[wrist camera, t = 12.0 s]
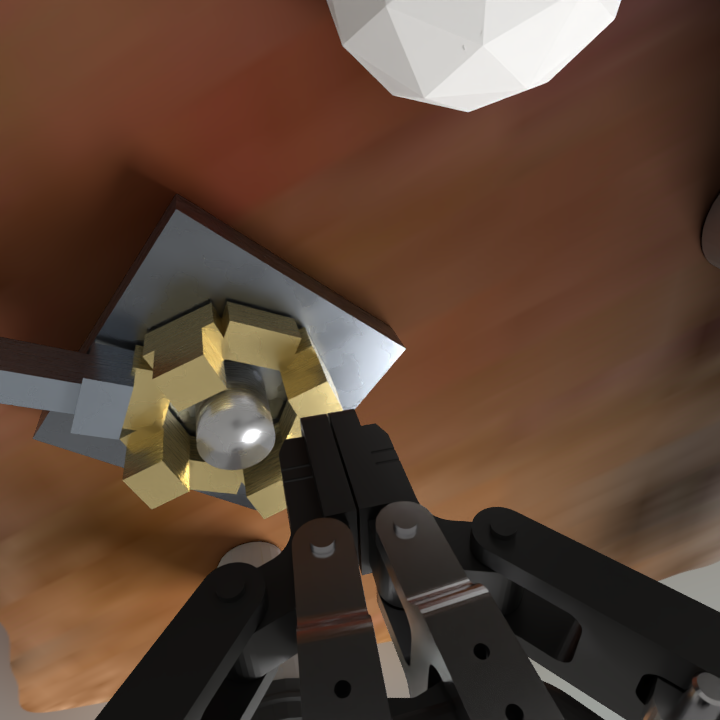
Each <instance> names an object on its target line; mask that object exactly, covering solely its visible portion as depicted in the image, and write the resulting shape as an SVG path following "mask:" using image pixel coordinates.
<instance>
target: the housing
mask: <svg viewBox="0 0 720 720" xmlns="http://www.w3.org/2000/svg"><path fill="white" fill-rule="evenodd" d="M226 302H231V303H235V304H239V305H243V306H247V307H250V308H254V309H258V310H262V311H266V312H270V313H273V314H277V315H281V316H285V317H289V318H293V319H295V322H296V325H297V327H298V330H299V329H301V328H303V327H305V328H306V330H307V332H308V334H309V336H310V338H311V340H312V342H313V343H314V345H315V347H316V349H317V351H318V353H319V355H320V357H321V359H322V361H323V363H324V365H325V366H326V368H327V370H328V372H329V374H330V376H331V379H332V381H333V384H334V386H335V388H336V391H337V393H338V398H339V400H340V403H341V405H342V408H343V410H349V409H355V408H356V407H357V406H358V405H359V403H360V402H361V401H362V400H363V399H364V398H365V396H366V395H367V394H368V393H369V392H370V390H371V389H372V388H373V387H374V386H375V385H376V383H377V382H378V381H379V380H380V379H381V377H382V376H383V375H384V374H385V373H386V372H387V370H388V369H389V368H390V367H391V366H392V364H393V363H394V362H395V361H396V360H397V359H398V357H399V356H400V355H401V354H402V353H403V351H404V350H405V347H404V346H403V344H402V343H401V341H400V340H399V338H398V337H397V335H396V334H395V332H394V331H393V329H392V328H391V327H389V326H388V325H386V324H385V323H383V322H381V321H380V320H378V319H377V318H375V317H373V316H372V315H370V314H369V313H367V312H365V311H364V310H362V309H361V308H359V307H357V306H356V305H354V304H353V303H351V302H349V301H348V300H346V299H345V298H343V297H342V296H340V295H338V294H337V293H335V292H334V291H332V290H330V289H329V288H327V287H326V286H324V285H322V284H321V283H319V282H318V281H316V280H314V279H313V278H311V277H310V276H308V275H306V274H305V273H303V272H302V271H300V270H298V269H297V268H295V267H294V266H292V265H290V264H289V263H287V262H286V261H284V260H282V259H281V258H279V257H278V256H276V255H274V254H273V253H271V252H270V251H268V250H266V249H265V248H263V247H262V246H260V245H258V244H257V243H255V242H254V241H252V240H250V239H249V238H247V237H246V236H244V235H242V234H241V233H239V232H238V231H236V230H234V229H233V228H231V227H230V226H228V225H226V224H225V223H223V222H222V221H220V220H218V219H217V218H215V217H214V216H212V215H211V214H209V213H207V212H206V211H204V210H203V209H201V208H199V207H198V206H196V205H195V204H193V203H191V202H190V201H188V200H187V199H185V198H183V197H182V196H180V195H179V194H177V193H176V195H175V197H174V198H173V200H172V201H171V203H170V205H169V206H168V208H167V209H166V211H165V213H164V214H163V216H162V218H161V219H160V221H159V222H158V224H157V226H156V227H155V229H154V230H153V232H152V234H151V235H150V237H149V239H148V240H147V242H146V243H145V245H144V247H143V248H142V250H141V251H140V253H139V255H138V256H137V258H136V260H135V261H134V263H133V264H132V266H131V268H130V269H129V271H128V272H127V274H126V276H125V277H124V279H123V281H122V282H121V284H120V285H119V287H118V289H117V290H116V292H115V293H114V295H113V297H112V298H111V300H110V302H109V303H108V305H107V306H106V308H105V310H104V311H103V313H102V314H101V316H100V318H99V319H98V321H97V323H96V324H95V326H94V327H93V329H92V331H91V332H90V334H89V335H88V337H87V339H86V340H85V342H84V344H83V345H82V347H81V348H80V350H79V352H80V353H85V354H90V350H91V346H92V343H98V344H103V345H107V346H112V347H117V348H122V349H127V350H132V351H134V350H135V346H136V345H139V346H143V347H144V339H145V334H147V333H149V332H151V331H153V330H155V329H157V328H159V327H162V326H164V325H166V324H168V323H170V322H172V321H174V320H176V319H178V318H180V317H182V316H185V315H187V314H189V313H191V312H193V311H195V310H197V309H199V308H201V307H203V306H206V305H208V304H210V303H212V304H213V306H214V308H215V309H216V311H217V312H218V314H219V315H220V317H222V314H223V311H224V308H225V305H226ZM224 368H225V376H226V384H227V389H225V390H223V391H221V392H219V393H217V394H215V395H213V396H211V397H209V398H207V399H205V400H203V401H201V402H198V403H196V404H194V405H192V406H190V407H188V408H186V409H184V410H182V411H180V412H178V411H177V410H176V408H175V407H174V406H173V405H172V404H171V402H170V404H169V407H168V409H169V411H170V412H171V413H172V414H173V416H174V417H175V418H176V419H177V421H178V422H179V423H180V424H181V425H182V427H183V428H184V429H185V430H186V432H187V433H188V434H189V435H190V436H196V443H197V450H198V452H199V455H200V456H201V457H202V459H203V460H204V461H205V462H207V463H208V464H210V465H211V466H214V467H216V468H219V469H224V470H239V469H244V468H248V467H251V466H253V465H255V464H257V463H259V462H260V461H262V460H263V459H264V458H265V457H266V456H267V455H268V454H269V453H270V451H271V450H272V448H273V446H274V443H275V430H274V426H273V425H274V424H276V423H278V422H279V419H280V417H281V415H282V412H283V410H284V408H285V405H286V403H287V401H288V398H287V395H286V391H285V387H284V384H283V380H282V376H281V373H280V371H279V370H274V369H270V368H265V367H260V366H256V365H251V364H246V363H242V362H237V361H232V360H228V359H226V360H224ZM74 415H75V414H68V413H62V412H55V411H48V410H42V413H41V416H40V419H39V422H38V425H37V427H36V430H35V433H34V436H33V439H35V440H38V441H41V442H45V443H48V444H51V445H54V446H57V447H60V448H63V449H66V450H70V451H73V452H76V453H79V454H82V455H85V456H88V457H91V458H95V459H98V460H101V461H104V462H107V463H110V464H113V465H117V466H120V467H123V468H124V464H125V456H126V448H127V447H126V446H125V444H124V443H123V442H122V441H121V440H120V439H119V440H117V439H110V438H102V437H95V436H88V435H80V434H73V433H71V428H72V424H73V420H74ZM195 491H198V492H201V493H204V494H207V495H210V496H214V497H217V498H220V499H223V500H226V501H229V502H232V503H235V504H239V505H242V506H245V507H248V508H251V509H254V510H257V509H256V508H255V507H254V506H253V504H252V503H251V502H250V501H249V499H248V498H247V497H246V489H245V485H244V484H243V483H242V482H241V485H240V487H239V489H238V492H237V494H230V493H220V492H210V491H201V490H195Z"/></svg>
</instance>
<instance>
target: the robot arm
mask: <svg viewBox="0 0 720 720" xmlns="http://www.w3.org/2000/svg"><path fill="white" fill-rule="evenodd" d="M702 249H703V252H704V255H705V257H706V259H707V260H708V261H709V262H710V263H711V264H712V265H714V266H716V267H718V268H720V194H719V196H718V197H717V199H716V200H715V202H714V203H713V205H712V207H711V209H710V211H709V213H708V215H707V218H706V221H705V224H704V228H703V234H702ZM300 426H301V435H302V437H297V438H292V439H286V440H284V442H283V444H282V447H281V449H280V452H279V461H280V467H281V474H282V481H283V488H284V495H285V501H286V507H287V513H288V519H289V525H290V531H291V536H290V539H289V542H288V544H287V545H286V547H285V548H284V550H283V551H282V552H281V553H280V554H279V555H277V556H276V557H275V558H273V559H272V560H270V561H268V562H267V563H265V564H263V565H261V566H259V567H257V568H256V567H255V566H253V565H251V564H248V563H243V562H233V563H228V564H225V565H223V566H220V567H218V568H217V569H215V570H214V571H212V572H211V573H210V574H209V575H208V576H207V577H206V578H205V579H204V580H203V582H202V583H201V584H200V585H199V587H198V588H197V589H196V591H195V592H194V593H193V594H192V596H191V597H190V598H189V599H188V601H187V602H186V603H185V605H184V606H183V607H182V608H181V610H180V611H179V612H178V614H177V615H176V616H175V617H174V619H173V620H172V621H171V623H170V624H169V625H168V626H167V628H166V629H165V630H164V632H163V633H162V634H161V635H160V637H159V638H158V639H157V641H156V642H155V643H154V644H153V646H152V647H151V648H150V649H149V651H148V652H147V653H146V655H145V656H144V657H143V658H142V660H141V661H140V662H139V664H138V665H137V666H136V667H135V669H134V670H133V671H132V673H131V674H130V675H129V676H128V678H127V679H126V680H125V682H124V683H123V684H122V685H121V687H120V688H119V689H118V690H117V692H116V693H115V694H114V696H113V697H112V698H111V699H110V701H109V702H108V703H107V705H106V706H105V707H104V708H103V710H102V711H101V713H100V714H99V715H98V716H97V717H96V719H95V720H251V718H252V716H253V714H254V713H255V711H256V709H257V707H258V705H259V704H260V702H261V700H262V698H263V697H264V695H265V693H266V691H267V689H268V688H269V686H270V684H271V682H272V680H273V679H274V677H275V675H276V673H277V671H278V667H279V665H280V664H282V663H284V662H285V661H287V660H288V659H290V658H291V657H293V656H294V655H296V654H298V665H299V679H300V694H301V709H302V720H604V719H603V718H601V717H600V716H598V715H597V714H596V713H594V712H593V711H591V710H590V709H588V708H587V707H585V706H584V705H582V704H581V703H580V702H578V701H576V700H575V699H574V698H572V697H571V696H570V695H568V694H566V693H565V692H563V691H562V690H560V689H558V688H556V687H554V686H553V685H551V684H548V683H546V682H544V681H542V680H541V678H540V677H539V675H538V673H537V672H536V670H535V668H534V667H533V665H532V663H531V662H530V660H529V658H531V659H532V660H534V661H535V662H537V663H538V664H540V665H542V666H543V667H545V668H546V669H548V670H549V671H551V672H553V673H554V674H556V675H557V676H559V677H560V678H562V679H563V680H565V681H567V682H568V683H570V684H571V685H573V686H574V687H576V688H578V689H579V690H581V691H582V692H584V693H585V694H587V695H588V696H590V697H592V698H593V699H595V700H596V701H598V702H599V703H601V704H602V705H604V706H606V707H607V708H609V709H610V710H612V711H613V712H615V713H617V714H618V715H620V716H621V717H623V718H624V719H626V720H720V612H718V611H716V610H714V609H712V608H710V607H708V606H706V605H704V604H702V603H700V602H698V601H696V600H694V599H692V598H690V597H688V596H686V595H684V594H682V593H680V592H678V591H676V590H674V589H671V588H670V587H668V586H666V585H663V584H662V583H660V582H658V581H656V580H653V579H651V578H649V577H647V576H645V575H643V574H641V573H639V572H637V571H635V570H633V569H631V568H629V567H627V566H625V565H623V564H621V563H619V562H617V561H615V560H613V559H611V558H609V557H607V556H605V555H603V554H601V553H599V552H597V551H595V550H593V549H591V548H589V547H587V546H585V545H583V544H581V543H579V542H577V541H575V540H572V539H570V538H568V537H566V536H564V535H562V534H560V533H558V532H556V531H554V530H552V529H550V528H548V527H546V526H544V525H542V524H540V523H538V522H536V521H534V520H532V519H530V518H528V517H526V516H524V515H522V514H520V513H518V512H516V511H513V510H511V509H508V508H503V507H491V508H487V509H484V510H482V511H480V512H479V513H478V514H477V515H476V516H475V517H474V519H473V522H466V521H451V520H445V519H441V518H438V517H435V516H434V515H432V514H431V513H430V512H429V511H428V510H427V509H426V508H425V507H423V506H422V505H420V504H419V502H418V500H417V498H416V496H415V494H414V491H413V489H412V487H411V485H410V482H409V480H408V478H407V476H406V473H405V471H404V469H403V467H402V464H401V462H400V461H399V458H398V456H397V453H396V451H395V450H394V447H393V444H392V442H391V440H390V438H389V435H388V434H387V433H386V432H385V431H384V430H383V429H381V428H380V427H379V426H378V425H377V424H370V425H364V426H361V425H360V422H359V420H358V417H357V415H356V412H355V410H354V409H349V410H343V411H337V412H331V413H328V414H320V415H314V416H308V417H303V418H300ZM359 566H360V570H361V573H362V575H365V574H369V573H373V576H374V579H375V583H376V586H377V602H378V605H379V608H380V610H381V613H382V616H383V618H384V621H385V623H386V626H387V629H388V631H389V634H390V636H391V639H392V641H393V644H394V646H395V649H396V652H397V654H398V657H399V660H400V662H401V665H402V667H403V670H404V673H405V676H406V679H407V683H408V688H409V693H410V698H387V693H386V689H385V683H384V678H383V674H382V668H381V663H380V658H379V653H378V648H377V643H376V638H375V632H374V628H373V623H372V619H371V616H370V615H368V611H367V607H366V601H365V596H364V591H363V586H362V581H361V575H360V570H359ZM528 657H529V658H528Z"/></svg>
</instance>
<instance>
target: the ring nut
mask: <svg viewBox="0 0 720 720" xmlns="http://www.w3.org/2000/svg"><path fill="white" fill-rule="evenodd" d="M226 359H228V360H232V361H237V362H242V363H246V364H251V365H256V366H260V367H265V368H270V369H274V370H279V371H280V373H281V376H282V380H283V384H284V387H285V391H286V395H287V398H288V401H287V403H286V405H285V408H284V410H283V412H282V415H281V417H280V419H279V422H278V423H276V424H274V425H273V426H274V430H275V443H274V446H273V448H272V450H271V451H270V453H269V454H268V455H267V456H266V457H265V458H264V459H263V460H262V461H260V462H259V463H257V464H255V465H253V466H251V467H248V468H244V469H239V470H224V469H219V468H216V467H214V466H211V465H210V464H208V463H207V462H205V461H204V460H203V459H202V457H201V456H200V455H199V452H198V450H197V443H196V436H190V435H189V434H188V433H187V432H186V430H185V429H184V428H183V427H182V425H181V424H180V423H179V422H178V421H177V419H176V418H175V417H174V416H173V414H172V413H171V412H170V411H169V409H168V407H169V404H170V402H171V404H172V405H173V406H174V407H175V408H176V410H177V411H178V412H180V411H182V410H184V409H186V408H188V407H190V406H192V405H194V404H196V403H198V402H201V401H203V400H205V399H207V398H209V397H211V396H213V395H215V394H217V393H219V392H221V391H223V390H225V389H227V384H226V376H225V368H224V360H226ZM0 403H2V404H8V405H15V406H22V407H28V408H35V409H42V410H48V411H55V412H62V413H68V414H75V415H74V420H73V424H72V428H71V433H73V434H80V435H88V436H95V437H102V438H110V439H117V440H119V439H120V440H121V441H122V442H123V443H124V444H125V446H126V447H127V448H126V456H125V464H124V472H123V481H124V482H125V483H126V484H127V485H128V486H129V487H130V488H131V489H132V490H133V491H134V492H135V493H136V494H137V495H138V496H139V497H140V498H141V499H142V500H143V501H144V502H145V503H146V504H147V505H148V506H149V507H150V508H151V509H154V508H156V507H158V506H160V505H162V504H164V503H166V502H168V501H170V500H172V499H174V498H176V497H178V496H181V495H183V494H185V493H187V492H189V489H191V490H201V491H210V492H220V493H230V494H237V492H238V489H239V487H240V485H241V482H242V483H243V484H244V485H245V489H246V497H247V498H248V499H249V501H250V502H251V503H252V504H253V506H254V507H255V508H256V509H257V511H258V512H259V513H260V514H261V516H262V517H263V518H264V519H266V518H268V517H270V516H272V515H274V514H276V513H278V512H280V511H282V510H284V509H286V508H287V507H286V501H285V495H284V488H283V481H282V474H281V467H280V461H279V452H280V449H281V447H282V444H283V442H284V440H286V439H292V438H297V437H302V435H301V426H300V418H303V417H308V416H314V415H320V414H328V413H331V412H337V411H343V408H342V405H341V403H340V400H339V398H338V393H337V391H336V388H335V386H334V384H333V381H332V379H331V376H330V374H329V372H328V370H327V368H326V366H325V365H324V363H323V361H322V359H321V357H320V355H319V353H318V351H317V349H316V347H315V345H314V343H313V342H312V340H311V338H310V336H309V334H308V332H307V330H306V328H305V327H303V328H301V329H299V330H298V327H297V325H296V322H295V319H293V318H289V317H285V316H281V315H277V314H273V313H270V312H266V311H262V310H258V309H254V308H250V307H247V306H243V305H239V304H235V303H231V302H226V305H225V308H224V311H223V314H222V317H220V315H219V314H218V312H217V311H216V309H215V308H214V306H213V304H212V303H210V304H208V305H206V306H203V307H201V308H199V309H197V310H195V311H193V312H191V313H189V314H187V315H185V316H182V317H180V318H178V319H176V320H174V321H172V322H170V323H168V324H166V325H164V326H162V327H159V328H157V329H155V330H153V331H151V332H149V333H147V334H145V339H144V347H143V346H139V345H136V346H135V350H134V351H132V350H127V349H122V348H117V347H112V346H107V345H103V344H98V343H92V346H91V350H90V354H85V353H80V352H75V351H70V350H65V349H60V348H55V347H50V346H45V345H39V344H34V343H29V342H24V341H19V340H14V339H9V338H4V337H0Z"/></svg>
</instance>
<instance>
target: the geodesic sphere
mask: <svg viewBox="0 0 720 720" xmlns="http://www.w3.org/2000/svg"><path fill="white" fill-rule="evenodd" d="M326 1H327V3H328V6H329V9H330V12H331V15H332V18H333V20H334V23H335V26H336V29H337V32H338V35H339V37H340V40H341V43H342V46H343V47H344V48H345V49H346V50H347V51H348V52H349V53H350V54H352V55H353V56H354V57H355V58H356V59H357V60H358V61H359V62H360V63H361V64H362V65H363V66H364V67H365V68H366V69H367V70H368V71H369V72H370V73H371V74H372V75H373V76H374V77H375V78H376V79H377V80H378V81H379V82H380V83H381V84H382V85H383V86H384V87H385V88H386V89H387V90H388V91H389V92H390V93H391V94H392V95H394V96H398V97H403V98H407V99H412V100H416V101H421V102H425V103H430V104H434V105H438V106H443V107H447V108H452V109H456V110H461V111H465V112H470V111H473V110H476V109H478V108H481V107H484V106H486V105H489V104H491V103H494V102H497V101H499V100H502V99H505V98H507V97H510V96H513V95H515V94H518V93H520V92H523V91H526V90H528V89H531V88H534V87H536V86H539V85H542V84H544V83H547V82H549V81H550V80H551V79H552V78H553V77H554V76H555V75H556V74H557V73H558V72H559V71H560V70H561V69H562V68H563V67H564V66H565V65H567V64H568V63H569V62H570V61H571V60H572V59H573V58H574V57H575V56H576V55H577V54H578V53H579V52H580V51H581V50H582V49H584V48H585V47H586V46H587V45H588V44H589V43H590V42H591V41H592V40H593V39H594V38H595V37H596V36H597V35H598V34H599V33H600V32H602V31H603V30H604V29H605V28H606V27H607V26H608V25H609V24H610V23H611V22H612V21H613V20H614V19H615V17H616V14H617V11H618V8H619V5H620V2H621V0H326Z"/></svg>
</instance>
